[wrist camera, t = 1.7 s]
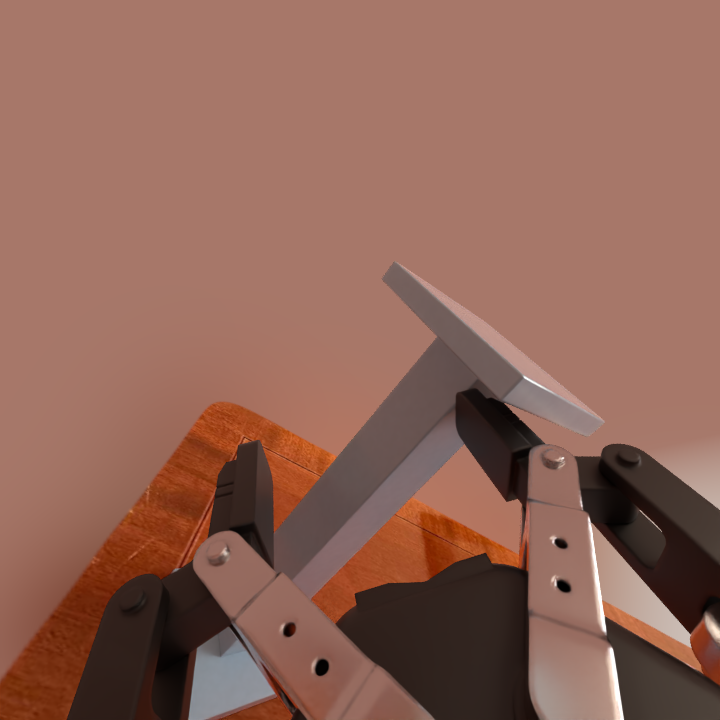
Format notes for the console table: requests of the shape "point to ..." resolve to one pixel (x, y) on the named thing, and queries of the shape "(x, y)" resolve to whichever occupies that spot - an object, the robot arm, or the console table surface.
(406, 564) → the console table surface
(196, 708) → the low stand
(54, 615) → the console table surface
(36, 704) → the console table surface
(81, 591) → the console table surface
